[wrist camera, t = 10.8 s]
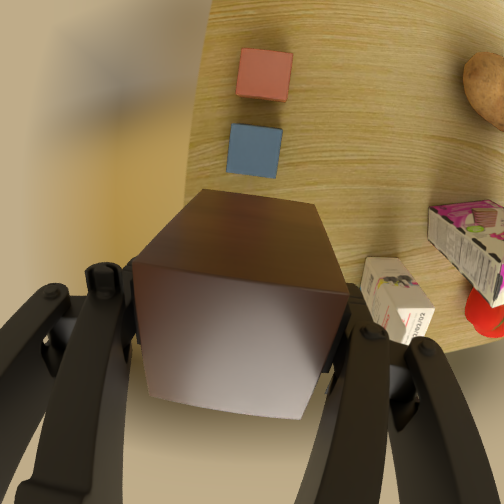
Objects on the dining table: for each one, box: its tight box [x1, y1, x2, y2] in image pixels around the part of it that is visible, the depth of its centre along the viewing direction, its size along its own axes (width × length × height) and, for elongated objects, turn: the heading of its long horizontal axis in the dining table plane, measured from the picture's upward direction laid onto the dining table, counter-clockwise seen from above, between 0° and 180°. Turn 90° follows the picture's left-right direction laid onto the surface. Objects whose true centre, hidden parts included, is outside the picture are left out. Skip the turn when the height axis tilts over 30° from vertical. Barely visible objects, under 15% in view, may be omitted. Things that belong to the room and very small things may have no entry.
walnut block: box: [132, 189, 350, 420], centre depth 12 cm, size 6×6×8 cm
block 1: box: [235, 48, 293, 103], centre depth 27 cm, size 5×5×4 cm
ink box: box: [360, 257, 435, 345], centre depth 31 cm, size 8×5×15 cm, turn 179°
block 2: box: [226, 123, 283, 179], centre depth 30 cm, size 5×5×4 cm
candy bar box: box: [428, 200, 504, 308], centre depth 26 cm, size 11×5×16 cm, turn 101°
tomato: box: [465, 287, 504, 338], centre depth 32 cm, size 14×13×9 cm
